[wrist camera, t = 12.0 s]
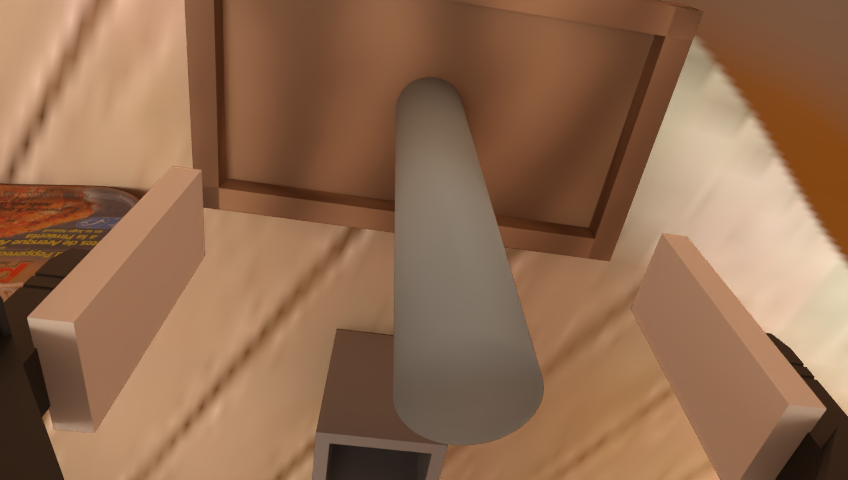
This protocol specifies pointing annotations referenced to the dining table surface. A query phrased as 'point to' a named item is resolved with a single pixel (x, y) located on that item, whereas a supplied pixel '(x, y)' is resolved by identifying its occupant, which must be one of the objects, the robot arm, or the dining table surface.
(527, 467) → the dining table surface
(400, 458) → the cup
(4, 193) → the tin
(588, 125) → the tray
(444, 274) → the dowel
